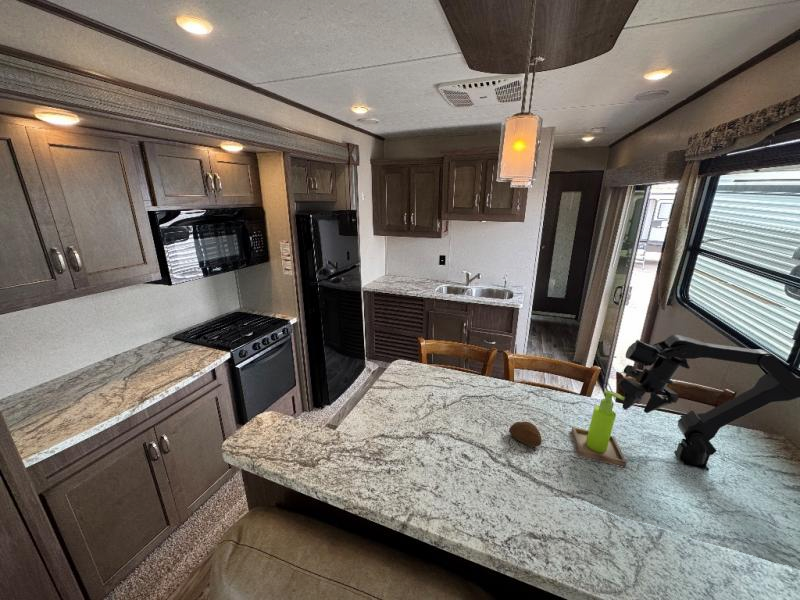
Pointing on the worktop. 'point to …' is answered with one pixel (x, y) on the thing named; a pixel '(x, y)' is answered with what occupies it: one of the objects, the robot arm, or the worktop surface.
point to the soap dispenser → (602, 423)
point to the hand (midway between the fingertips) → (634, 410)
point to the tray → (610, 456)
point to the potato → (526, 433)
